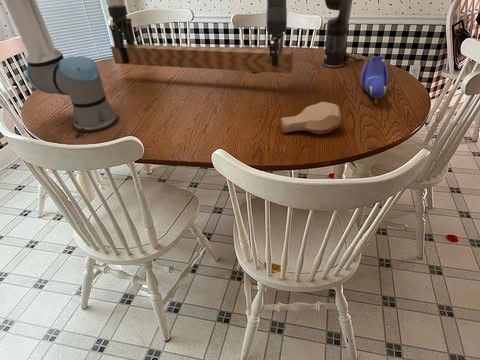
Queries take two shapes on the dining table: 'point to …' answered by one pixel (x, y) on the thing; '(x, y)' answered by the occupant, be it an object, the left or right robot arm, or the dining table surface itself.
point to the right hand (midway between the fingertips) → (276, 63)
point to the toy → (374, 77)
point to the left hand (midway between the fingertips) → (129, 61)
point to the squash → (314, 119)
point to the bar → (206, 58)
